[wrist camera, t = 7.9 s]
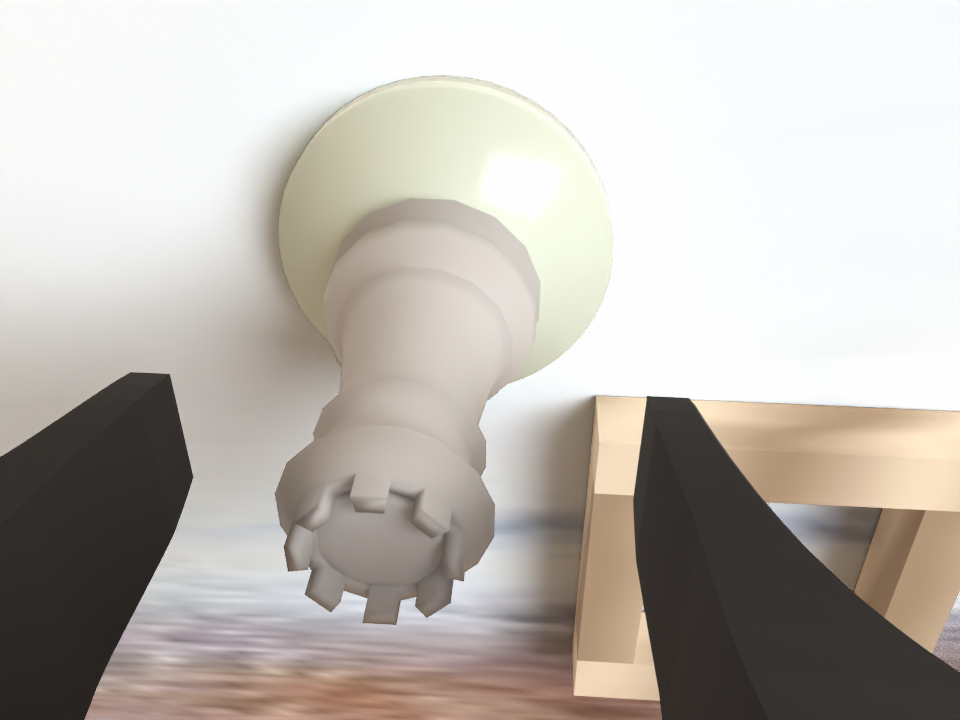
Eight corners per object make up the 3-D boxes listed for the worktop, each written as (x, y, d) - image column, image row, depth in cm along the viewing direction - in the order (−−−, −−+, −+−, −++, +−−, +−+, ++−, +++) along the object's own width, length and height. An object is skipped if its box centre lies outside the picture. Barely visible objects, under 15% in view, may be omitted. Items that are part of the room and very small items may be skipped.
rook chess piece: (414, 401, 21) (347, 700, 14) (291, 254, 19) (146, 519, 12) (580, 316, 19) (596, 606, 12) (465, 146, 17) (409, 382, 10)
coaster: (626, 79, 17) (629, 92, 16) (598, 378, 21) (599, 398, 20) (268, 70, 17) (257, 82, 17) (305, 365, 21) (297, 385, 21)
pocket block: (982, 412, 21) (1016, 462, 19) (883, 660, 26) (904, 716, 24) (596, 395, 21) (599, 442, 20) (572, 642, 26) (573, 695, 25)
